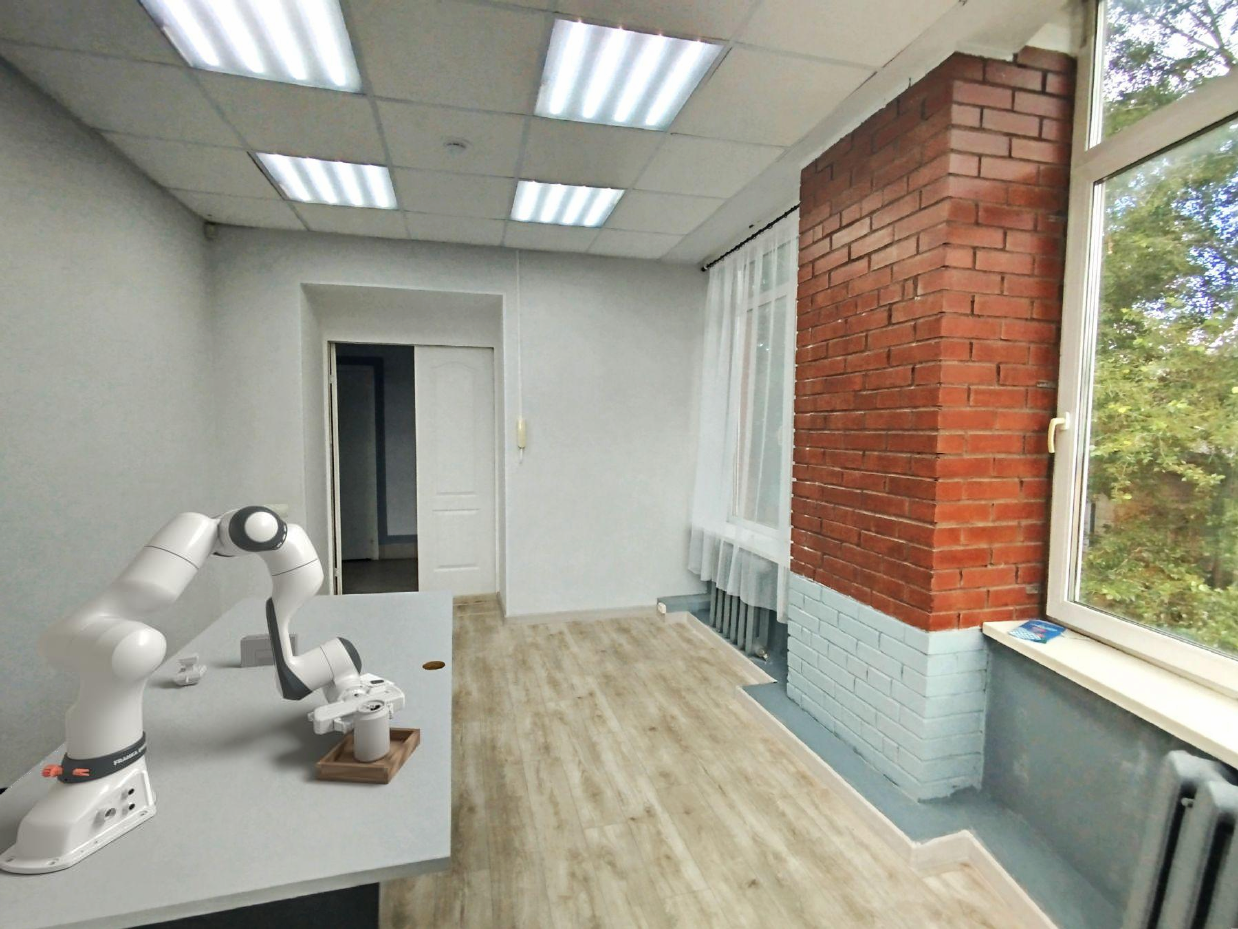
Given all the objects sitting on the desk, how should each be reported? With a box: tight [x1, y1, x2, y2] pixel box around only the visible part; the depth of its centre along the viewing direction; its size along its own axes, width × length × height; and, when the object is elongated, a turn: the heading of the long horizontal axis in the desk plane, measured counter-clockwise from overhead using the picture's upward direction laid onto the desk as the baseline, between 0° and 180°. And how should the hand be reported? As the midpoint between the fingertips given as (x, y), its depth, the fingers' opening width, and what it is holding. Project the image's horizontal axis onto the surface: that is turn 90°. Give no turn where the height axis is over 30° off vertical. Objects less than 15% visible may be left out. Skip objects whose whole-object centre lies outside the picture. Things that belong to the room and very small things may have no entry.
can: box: [353, 699, 390, 763], centre depth 129 cm, size 8×8×12 cm
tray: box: [316, 726, 421, 785], centre depth 129 cm, size 16×16×4 cm
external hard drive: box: [358, 672, 396, 686], centre depth 167 cm, size 2×8×12 cm
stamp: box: [173, 652, 208, 687], centre depth 168 cm, size 9×7×8 cm
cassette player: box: [239, 632, 299, 669], centre depth 182 cm, size 16×3×10 cm, turn 104°
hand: (369, 722), depth 130 cm, fingers open, 8 cm apart
